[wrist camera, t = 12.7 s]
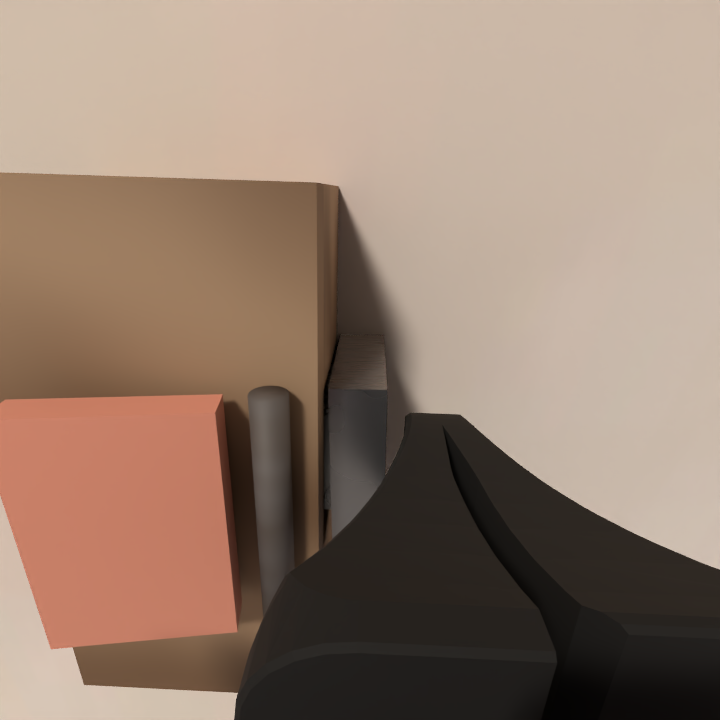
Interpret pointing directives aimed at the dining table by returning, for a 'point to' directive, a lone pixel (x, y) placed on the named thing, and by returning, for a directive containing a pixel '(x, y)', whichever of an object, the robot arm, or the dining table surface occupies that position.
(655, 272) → the dining table surface
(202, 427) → the flap
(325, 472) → the pin
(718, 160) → the dining table surface
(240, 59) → the dining table surface
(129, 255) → the block
